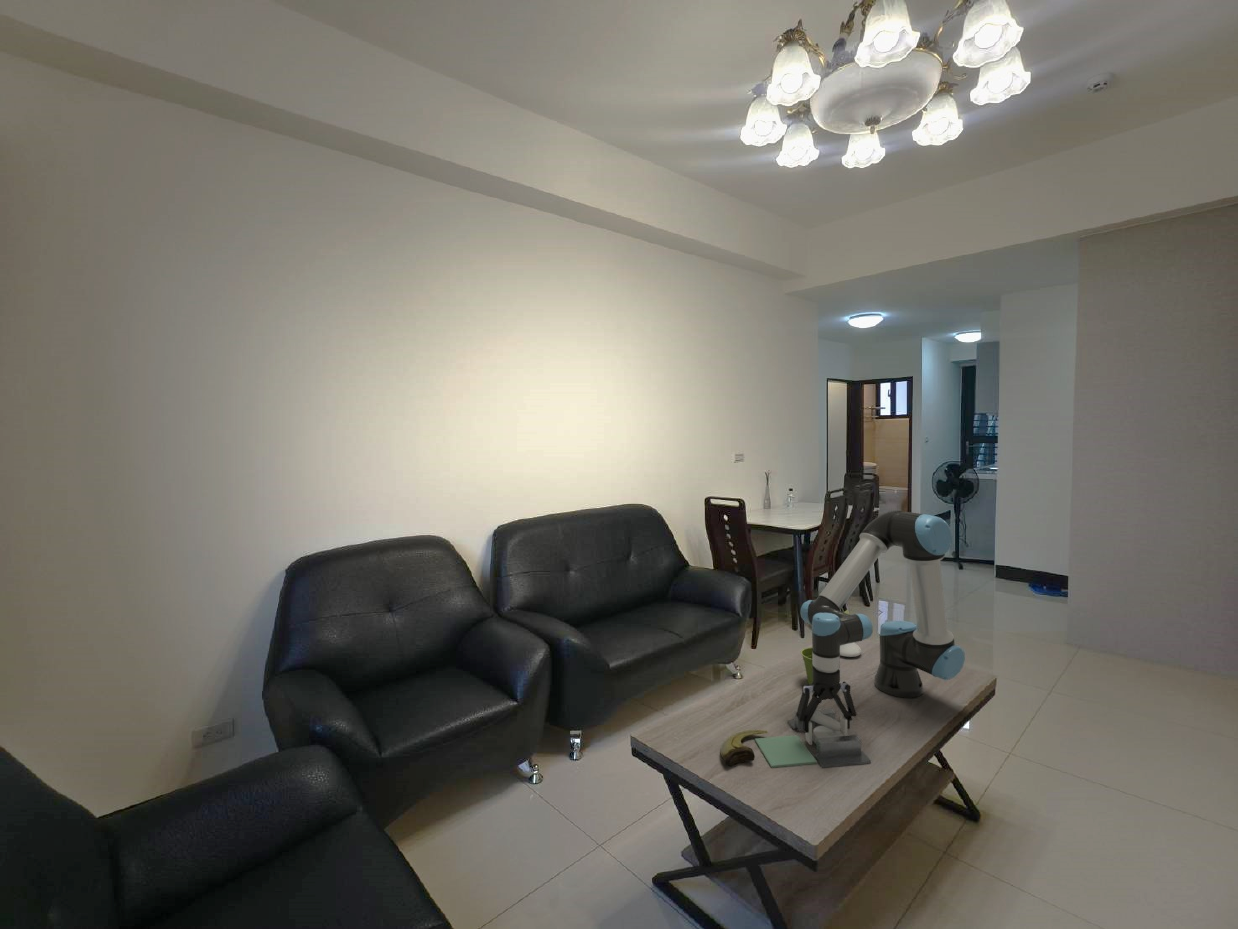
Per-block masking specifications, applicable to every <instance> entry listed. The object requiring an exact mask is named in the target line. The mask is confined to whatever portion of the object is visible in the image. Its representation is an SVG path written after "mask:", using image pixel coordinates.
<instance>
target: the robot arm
mask: <svg viewBox="0 0 1238 929" xmlns="http://www.w3.org/2000/svg"><path fill="white" fill-rule="evenodd" d="M952 534H953V533H952V530H951V527H950V526H949V524H948V522H946V521H945V519H943V518H941V517H939V516H935V515H931V514H929V513H925V514H923V513H919V512H918V513H917V512H910V511H905V510H898V509H897V510H890V511H887V512H884V513H883V514H881V515H879V516H877V517H876V518H874V519H873V520H872V521H871V522H869V523H868V524H867V525H866V526H865V528H864V529H863V530H862V531H861V533H860V534H859V536H858V537H859V541H858V542H857V544H856V545H855V546H854V548H853V549H852V550H851V552H850V553H849V554H848V556H847V557H846V559H845V560H844V561H843V563H841V565H840V566H839V568H838V569H837V571H836V572H835V573H834V574H833V575H832V577H831V579H830V580H829V581H828V583H827V584H826V586H824V588H823V589H822V590H821V592H820V593H819V595H818V597H817V598H816V599H815V600H813V599H809V600H808V599H807V601H805V602H803V603H802V605H801V607H800V617H801V619H802V620H803V621H804V622H805V623H806V624H809V625H811V641H812V642H811V643H812V664H813V667H812V677H813V683H812V685H806V684H803V685H801V696H800V699H799V703H798V707H797V710H796V712H797V713H796V716H797V718H798V719H799V720H800V721H803V730H804V731H803V732H804V733H805V741H806V742H807V743H808V744H809V746H812V745H813V731H812V722H811V721H810V719H811V718H812V716H813V714H814V712H815V710H817V708H818V707H819V705H820V704H821V703H822V702H823V701H827V700H834V702H835V704H836V705H837V707H838V709H839V710H840V712H841V713H842V714H840V715H839V716H840V718H839V723H840V724H841V729H840V730H841V731H842V732H843V733H844V735H845V736H848V730H849V729H850V727H851V721H852V720H853V718H855V717H857V715H858V714H857V712H856V708H855V705H854V700H853V697H852V695H851V685H850V684H848V683H847V682H846V681H842V682H841V683H840V681H841V670H840V668H841V655H840V645H845V644H849V643H853V642H854V643H857V642H862V641H864V640H866V639H869V638H870V637H871V636H872V634H873V631H874V630H873V624H872V622H871V619H870V618H869V616H867V615H865V614H863V613H854V614H850V613H849V614H850V615H849V614H846V613H844V612H845V611H844V612H843V611H841V610H842V608H843V606H844V605H845V603H846V602H848V600H849V598H850V597H851V596H852V594H853V593H854V591H855V590H856V588H857V587H858V586H859V585H860V583H861V581H863V579H864V578H865V576H866V575H867V574H868V573H869V570H871V568H872V566H873V565H875V562H876V561H877V559H878V558H879V557H880V556H881V555H882V554H885V553H887V552H888V551H889V549H890V548H891V547H893V546H895V547H900V548H902V556H903V558H904V559H905V560H906V561H908V563H909V572H910V580H911V587H912V595H913V596H912V597H913V603H914V611H915V612H914V613H915V622H916V623H914V622H912V621H907V620H890V621H885V622H883V623H881V625H880V630H879V665H878V668H877V670H876V672H875V675H874V686H875V687H876V688H877V689H878V690H879V691H881V692H883V693H884V694H887V695H890V696H895V697H898V698H907V699H908V698H917V697H920V696H921V695H922V694H923V693H924V685H923V681H922V679H921V675H920V672H919V670H920V671H922V672H924V673H926V674H929V675H931V676H933V677H934V678H938V679H942V680H944V681H946V680H947V681H949V680H952V679H954V678H956V677H957V675H959V673H960V672H961V671H962V669H963V667H964V665H965V660H966V654H965V651H964V649H963V648H962V647H961V646H960V645H957V644H955V636H954V634H953V633H952V631H950V630H949V629H948V623H947V622H948V621H947V614H946V613H947V612H946V602H945V595H944V594H945V592H944V586H943V577H942V568H941V561H942V560H943V559H944V558H945V557H946V554H947V553H948V552H949V550H950V549H951V547H952V546H951V544H952V543H953V535H952ZM840 690H841V691H842V694H843V695H842V696H843V697H844V701H845V704H846V706H845V705H844V703H843V702H842V700H841V698H840V696H839V694H838V693H839V692H840ZM812 692H813V693H812ZM810 696H811V697H810ZM810 698H811V699H810Z"/></svg>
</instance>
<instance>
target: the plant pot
mask: <svg viewBox="0 0 1238 929" xmlns="http://www.w3.org/2000/svg"><path fill="white" fill-rule="evenodd" d="M800 654H801V656H802V660H803V662H804V667H805V673H806V679H807V683H808V685H809V686H811V685H812V683H813V677H812V667H813V664H812V647H806V648H803V649H801V651H800Z"/></svg>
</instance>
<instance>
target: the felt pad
mask: <svg viewBox="0 0 1238 929" xmlns="http://www.w3.org/2000/svg"><path fill="white" fill-rule="evenodd" d="M754 741H755V743H756V745H757V747H758V748H759V750H760V751H761V753H762V755H763V756H764V758H765V760H766V761H767V763H768V764H769V766H770V768H772V769H773V768H783V767H785V768H786V767H795V766H805V765H815V764H818V762H817V760H816V759H815V756H814V755H813V754H812V753H811V752H810V750H809V749H808V748H807V746H806V745H805V743H803V740H801V738H800V737H799V736H798V734H794V735H781V736H779V735H778V736H772V737H771V736H769V737H760V738H759V737H758V738H757V737H756V738H754Z"/></svg>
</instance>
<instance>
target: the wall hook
mask: <svg viewBox="0 0 1238 929" xmlns="http://www.w3.org/2000/svg"><path fill="white" fill-rule="evenodd" d="M816 710H817V709H816ZM816 710H815V712H814V714H813V716H812V718H811V719H810V720H812V721H814V722H816V723H819V724H821V725H823V726H818V727H816V728H815V729H814V730H813V731H812V741H813V742H814V744H815V745H816V738H827V737H838V736H845V735H844V733H843V732H842V731H841V730H840V729H841V724H840V721H838V720H837V719H836V720H835V719H833V718H831V717H829V716H827V715H824V714H822V713H820V712H818V711H816Z"/></svg>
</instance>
